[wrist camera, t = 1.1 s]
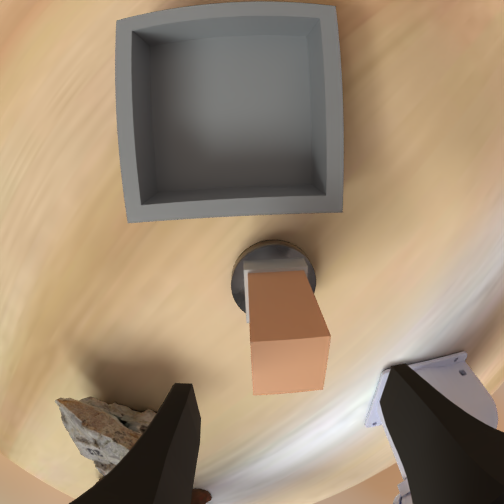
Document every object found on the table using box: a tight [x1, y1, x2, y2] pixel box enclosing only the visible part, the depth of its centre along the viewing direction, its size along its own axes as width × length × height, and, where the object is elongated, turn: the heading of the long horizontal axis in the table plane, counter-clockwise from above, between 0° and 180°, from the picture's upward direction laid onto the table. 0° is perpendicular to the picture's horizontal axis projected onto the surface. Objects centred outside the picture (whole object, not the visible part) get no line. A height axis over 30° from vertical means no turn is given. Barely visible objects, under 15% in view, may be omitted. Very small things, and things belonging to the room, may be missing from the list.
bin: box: [115, 2, 344, 223], centre depth 14 cm, size 10×10×4 cm
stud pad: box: [231, 240, 316, 313], centre depth 18 cm, size 5×5×1 cm
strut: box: [244, 258, 331, 395], centre depth 15 cm, size 3×3×7 cm
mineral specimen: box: [55, 397, 156, 476], centre depth 22 cm, size 10×8×10 cm
